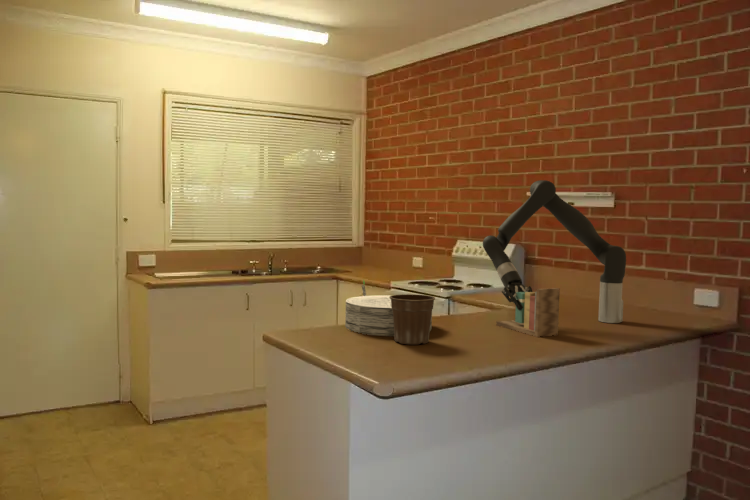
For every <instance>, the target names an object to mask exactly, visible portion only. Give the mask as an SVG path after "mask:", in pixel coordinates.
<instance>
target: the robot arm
mask: <svg viewBox="0 0 750 500" xmlns="http://www.w3.org/2000/svg"><path fill="white" fill-rule="evenodd" d="M529 194H530V196H528V197H529V198H528V199H526V201H525V202H524V203H523V204H522V205H521V206H519V208H516V209H515V211H514V212H512V213H511V214H510V215H509V216H508V217H507V218H506V219H505V220H504V221H503V222H502V223H501V225H500V226H499V227H498V229H497V232H498V234H497V236H494V235H487V236H485V237H484V239H483V240H482V248H483V249H484V251H485V253H486V254H487V256H488V257H489V259H490V260H491V262H492V264H493V267H494V269H495V270H496V271H497V275H498V278H499V279H500V281H501V284H503V286H504V287H503V289H502V291H501V293H502V295H503V296H504V297H505V298H506V300H507V302H509V303H513V304H514V306H515V308H516V307H517V309H518V310H519V311H520V310H522V309H523V306H522V304H521V303H520V301H519V300H518V297H517V293H516V292H534V291H533V289H532V287H531V286H530V285H529V286H528V287H527V286H525V285H524V284H523V280H522V278H521V276H520V273H519V271H518V270H517V268H516V267H515V265H514V264H513V262H512V260H511V259H510V257H509V255H508V254H506V252H505V250H506V249H507V248H508V245H509V244H510V242H511V239H512V238H513V237H514V236H515V235H516V234H517V233H518V232H519V230H520V229H521V228H522V227H523V226H524V225H525V224H526V223H527V222H528V220H529V219H531V217H533V216H534V215H535V214H536V213H537V212H538V211H539V210H540V209H541V208H542V207H544V208H545V209H546V210H547V211H549V212H550V213H551V215H553V216H554V218H556V220H557V221H558V222H559V223H560V224H561V225H562V227H564V228H565V229H566V230H567V231H568V232H569V233H570V234H572V235H573V237H574V238H576V239H577V240H578V241H579V242H580V243H581V244H583V246H586V247H587V248H588V250H590V252H591V253H592V254H593V256H595V257H596V259H598V261H599V262H600V263H601V264H603V266H604V268H603V269H604V270H603V273H602V274H601V275H600V277H599V295H598V296H599V298H598V322H602V323H608V324H620V323H622V322H623V321H624V319H623V315H624V300H623V282H624V278H625V275H626V268H627V267H626V266H627V265H626V264H627V254H626V251H625V249H624V248H622V247H621V246H618V245H612V244H611V243H609V242H607V241H606V240H605V239H604V238H603V237H602V236H600V234H599V233H598V232H597V230H596V227H595V226H594V225H593V223H592V222H591V221H590V220H589V219H588V218H587V216H585V214H583V213H582V212H581V211H580V210H578V209H577V208H576V207H574V206H573V205H571V204H570V203H568V202H567V201H565V200H564V199H562V198H561V197H560V196H559V195H558V194H557V189H556V186H555V184H554V183H553V182H551V181H550V180H546V179H545V180H543V179H540V180H536V181H534V182H533V183H532V184H531V185H530V187H529Z"/></svg>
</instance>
